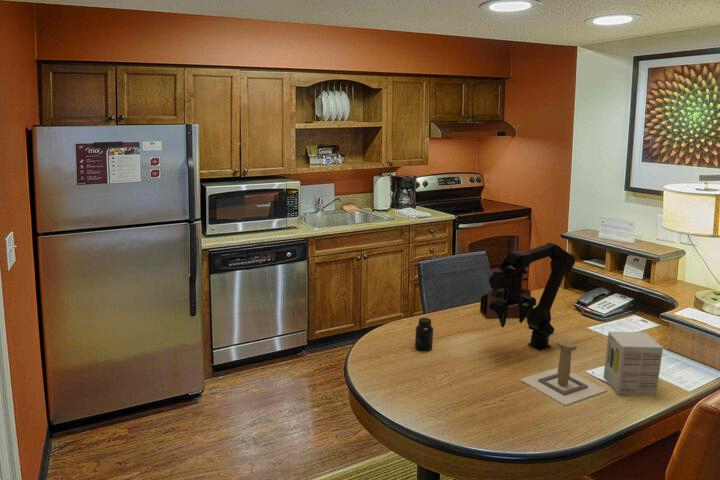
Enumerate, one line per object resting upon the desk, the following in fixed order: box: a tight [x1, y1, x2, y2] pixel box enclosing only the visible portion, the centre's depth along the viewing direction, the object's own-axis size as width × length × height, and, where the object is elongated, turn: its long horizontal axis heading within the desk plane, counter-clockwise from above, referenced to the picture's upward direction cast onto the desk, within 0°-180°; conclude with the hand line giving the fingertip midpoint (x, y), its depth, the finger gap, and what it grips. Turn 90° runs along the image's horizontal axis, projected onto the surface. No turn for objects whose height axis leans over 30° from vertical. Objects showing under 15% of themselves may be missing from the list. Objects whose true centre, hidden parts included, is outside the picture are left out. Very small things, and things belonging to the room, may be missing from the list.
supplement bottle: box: [414, 317, 434, 352], centre depth 228 cm, size 7×7×12 cm
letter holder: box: [479, 288, 532, 320], centre depth 265 cm, size 10×20×14 cm, turn 96°
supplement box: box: [603, 331, 664, 396], centre depth 199 cm, size 13×13×18 cm
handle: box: [556, 339, 577, 386], centre depth 199 cm, size 5×6×15 cm
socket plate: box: [519, 367, 608, 407], centre depth 200 cm, size 20×20×1 cm
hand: (511, 324), depth 222 cm, fingers open, 9 cm apart
